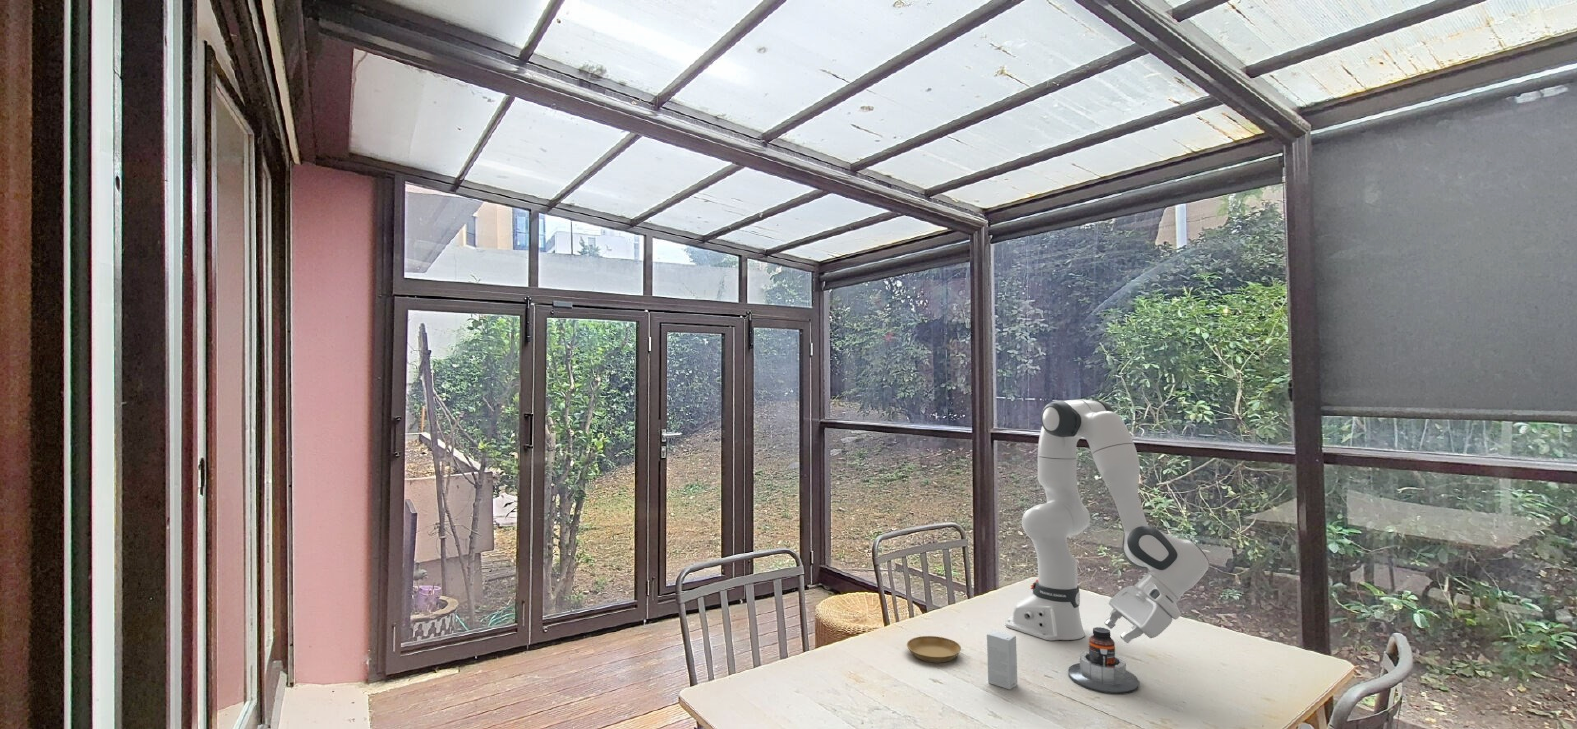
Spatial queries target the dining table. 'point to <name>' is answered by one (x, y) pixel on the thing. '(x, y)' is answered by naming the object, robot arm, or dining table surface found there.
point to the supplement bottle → (1101, 647)
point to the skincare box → (1002, 659)
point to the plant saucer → (934, 648)
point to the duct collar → (1103, 676)
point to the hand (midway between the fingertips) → (1115, 633)
